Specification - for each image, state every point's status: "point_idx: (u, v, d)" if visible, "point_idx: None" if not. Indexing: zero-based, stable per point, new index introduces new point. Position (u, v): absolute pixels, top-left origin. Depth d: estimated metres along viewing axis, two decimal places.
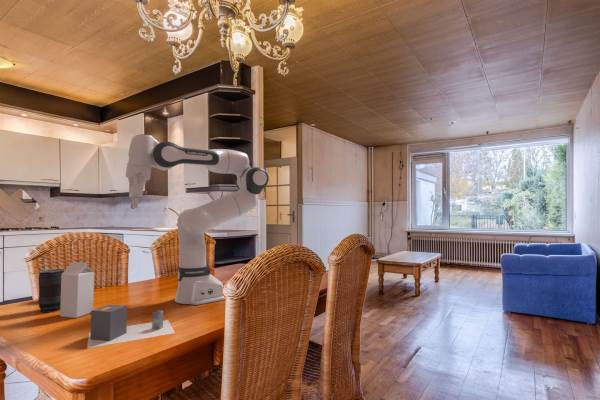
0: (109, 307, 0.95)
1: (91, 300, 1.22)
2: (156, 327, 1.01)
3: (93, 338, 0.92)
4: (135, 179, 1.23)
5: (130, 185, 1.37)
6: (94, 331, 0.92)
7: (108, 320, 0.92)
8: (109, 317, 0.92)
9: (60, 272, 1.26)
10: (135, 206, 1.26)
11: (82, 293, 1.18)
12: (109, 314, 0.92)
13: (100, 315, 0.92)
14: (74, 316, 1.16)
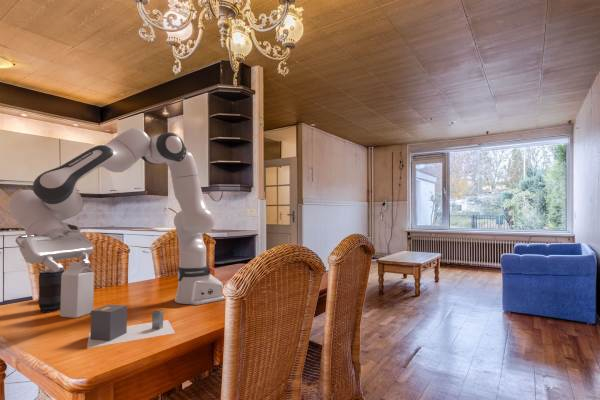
0: (109, 307, 0.95)
1: (91, 300, 1.22)
2: (156, 327, 1.01)
3: (93, 338, 0.92)
4: (19, 247, 0.91)
5: None
6: (94, 331, 0.92)
7: (108, 320, 0.92)
8: (109, 317, 0.92)
9: (60, 272, 1.26)
10: (56, 268, 0.93)
11: (82, 293, 1.18)
12: (109, 314, 0.92)
13: (100, 315, 0.92)
14: (74, 316, 1.16)
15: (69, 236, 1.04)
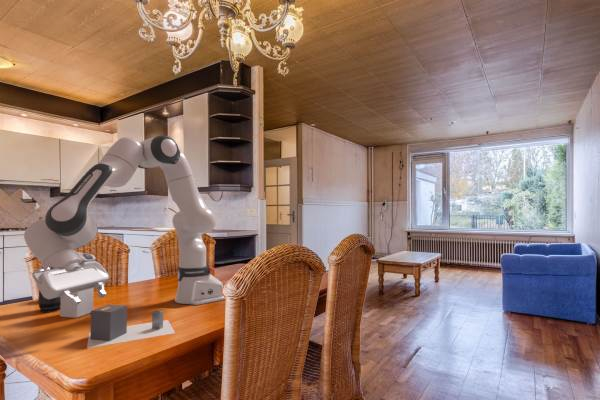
0: (109, 307, 0.95)
1: (91, 300, 1.22)
2: (156, 327, 1.01)
3: (93, 338, 0.92)
4: (36, 282, 0.90)
5: None
6: (94, 331, 0.92)
7: (108, 320, 0.92)
8: (109, 317, 0.92)
9: None
10: (73, 302, 0.91)
11: (82, 293, 1.18)
12: (109, 314, 0.92)
13: (100, 315, 0.92)
14: (74, 316, 1.16)
15: (85, 266, 1.02)
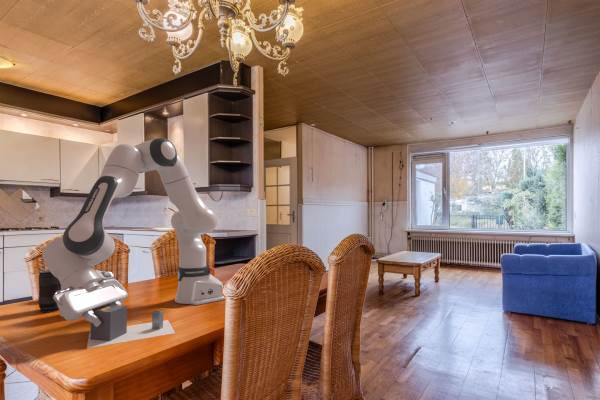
0: (109, 307, 0.95)
1: None
2: (156, 327, 1.01)
3: (93, 338, 0.92)
4: (57, 303, 0.88)
5: None
6: (94, 331, 0.92)
7: (108, 320, 0.92)
8: (109, 317, 0.92)
9: None
10: (97, 323, 0.91)
11: None
12: (109, 314, 0.92)
13: (100, 315, 0.92)
14: None
15: (104, 285, 1.00)
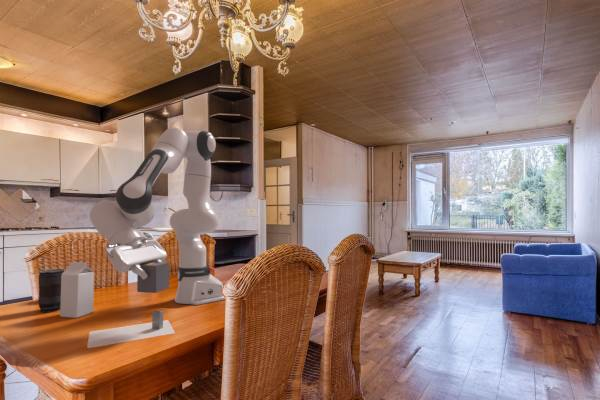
0: (153, 263, 1.01)
1: (91, 300, 1.22)
2: (156, 327, 1.01)
3: (140, 290, 0.99)
4: (108, 257, 0.94)
5: None
6: (141, 284, 0.99)
7: (154, 273, 0.98)
8: (155, 271, 0.98)
9: (60, 272, 1.26)
10: (144, 275, 0.97)
11: (82, 293, 1.18)
12: (155, 268, 0.98)
13: (146, 269, 0.99)
14: (74, 316, 1.16)
15: (146, 244, 1.07)
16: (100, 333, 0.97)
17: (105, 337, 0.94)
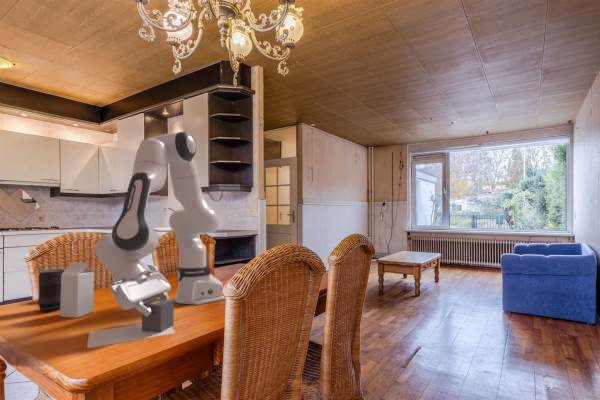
0: (158, 301, 1.01)
1: (91, 300, 1.22)
2: None
3: (144, 330, 0.99)
4: (113, 294, 0.94)
5: None
6: (145, 323, 0.99)
7: (159, 313, 0.98)
8: (160, 310, 0.98)
9: (60, 272, 1.26)
10: (147, 313, 0.96)
11: (82, 293, 1.18)
12: (160, 307, 0.98)
13: (151, 308, 0.99)
14: (74, 316, 1.16)
15: (151, 277, 1.07)
16: (100, 333, 0.97)
17: (105, 337, 0.94)
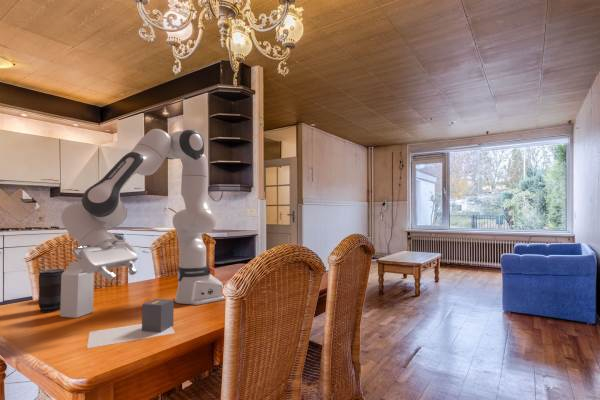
0: (158, 301, 1.01)
1: (91, 300, 1.22)
2: None
3: (144, 330, 0.99)
4: (76, 258, 0.97)
5: None
6: (145, 323, 0.99)
7: (159, 313, 0.98)
8: (160, 310, 0.98)
9: (60, 272, 1.26)
10: (109, 277, 0.99)
11: (82, 293, 1.18)
12: (160, 307, 0.98)
13: (151, 308, 0.99)
14: (74, 316, 1.16)
15: (117, 246, 1.10)
16: (100, 333, 0.97)
17: (105, 337, 0.94)
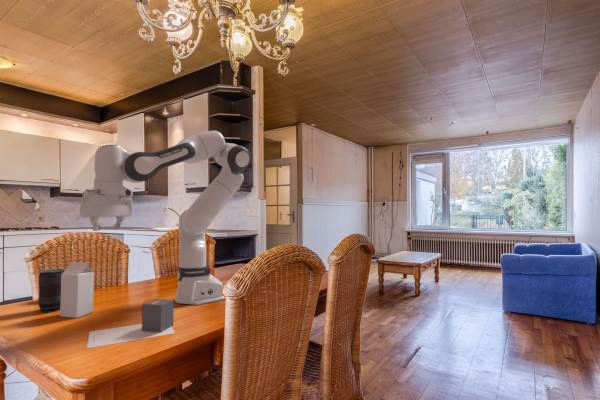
0: (158, 301, 1.01)
1: (91, 300, 1.22)
2: None
3: (144, 330, 0.99)
4: (82, 198, 1.07)
5: None
6: (145, 323, 0.99)
7: (159, 313, 0.98)
8: (160, 310, 0.98)
9: (60, 272, 1.26)
10: (95, 228, 1.10)
11: (82, 293, 1.18)
12: (160, 307, 0.98)
13: (151, 308, 0.99)
14: (74, 316, 1.16)
15: (121, 200, 1.19)
16: (100, 333, 0.97)
17: (105, 337, 0.94)
